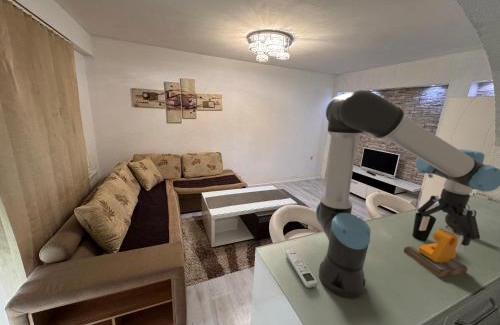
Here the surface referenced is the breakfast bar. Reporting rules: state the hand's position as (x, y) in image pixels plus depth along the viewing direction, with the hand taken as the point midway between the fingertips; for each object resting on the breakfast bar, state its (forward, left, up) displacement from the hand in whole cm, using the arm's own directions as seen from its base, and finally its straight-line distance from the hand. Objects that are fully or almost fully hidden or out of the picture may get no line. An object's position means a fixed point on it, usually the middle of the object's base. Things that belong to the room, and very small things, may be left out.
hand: (439, 239), depth 82 cm
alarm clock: (+37, +17, -11) cm, 43 cm away
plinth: (0, 0, -11) cm, 10 cm away
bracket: (0, 0, -8) cm, 8 cm away
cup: (+11, +15, -11) cm, 22 cm away
